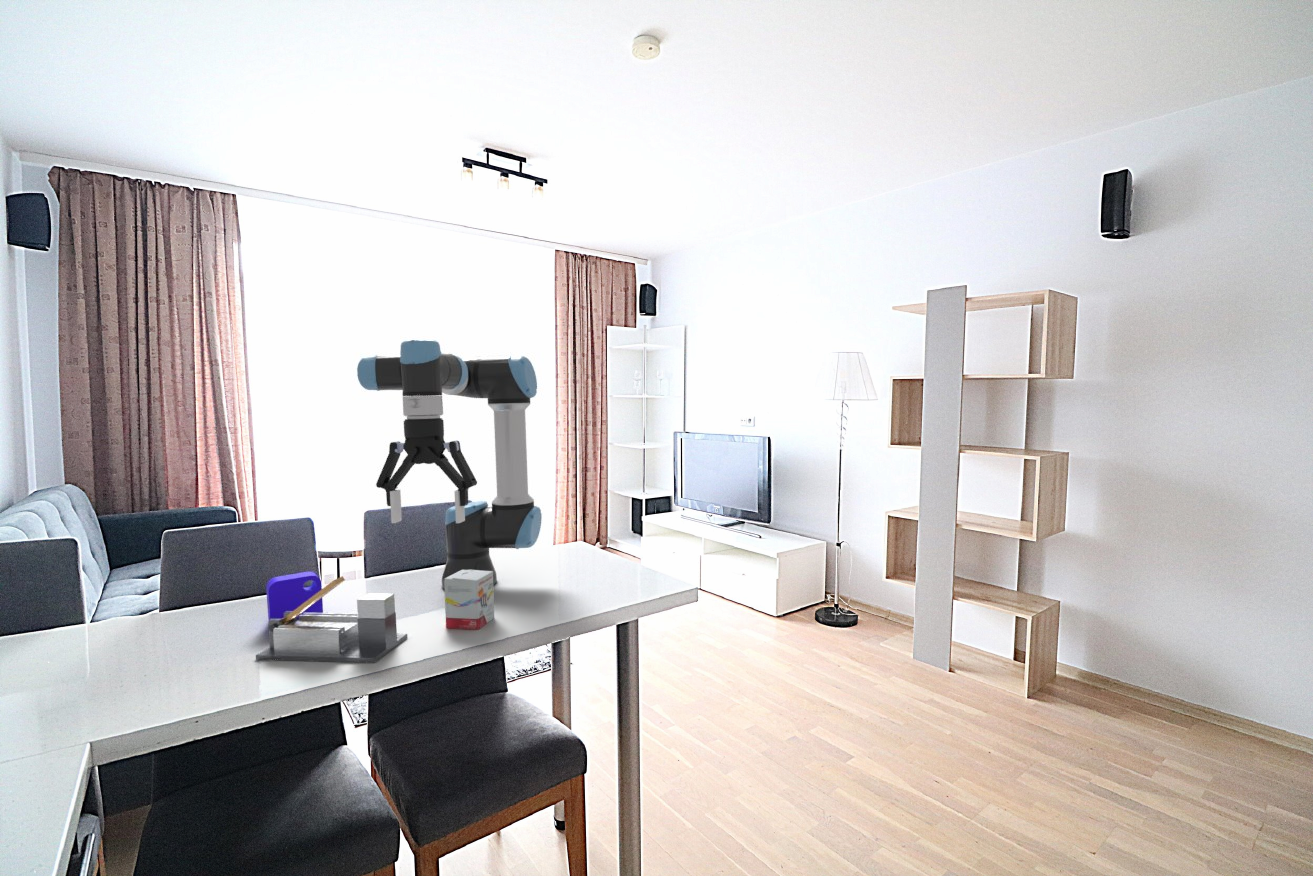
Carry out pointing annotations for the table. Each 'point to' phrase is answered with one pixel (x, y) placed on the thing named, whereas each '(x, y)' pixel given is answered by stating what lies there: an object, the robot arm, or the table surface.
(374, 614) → the white block
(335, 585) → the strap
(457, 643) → the table surface
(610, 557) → the table surface
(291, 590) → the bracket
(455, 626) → the ink box
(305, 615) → the base
